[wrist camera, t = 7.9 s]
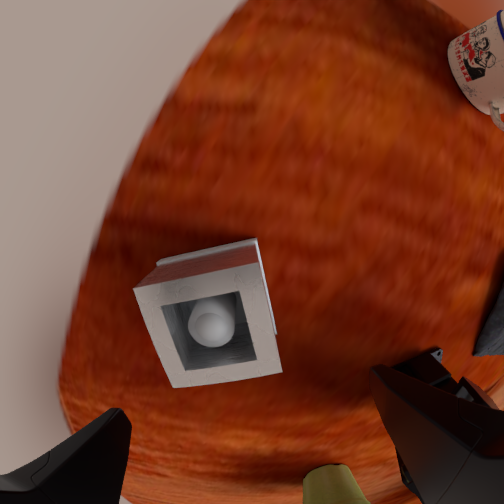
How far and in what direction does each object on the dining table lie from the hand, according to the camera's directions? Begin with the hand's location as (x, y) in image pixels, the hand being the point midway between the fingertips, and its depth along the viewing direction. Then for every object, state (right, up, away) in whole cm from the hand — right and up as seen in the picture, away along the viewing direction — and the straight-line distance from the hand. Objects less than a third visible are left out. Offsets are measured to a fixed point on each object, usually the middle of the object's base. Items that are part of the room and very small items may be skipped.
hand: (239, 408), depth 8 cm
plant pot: (+10, -23, +18) cm, 31 cm away
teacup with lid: (+22, +21, +8) cm, 32 cm away
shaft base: (-2, +2, +12) cm, 12 cm away
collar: (-2, +2, +11) cm, 11 cm away
